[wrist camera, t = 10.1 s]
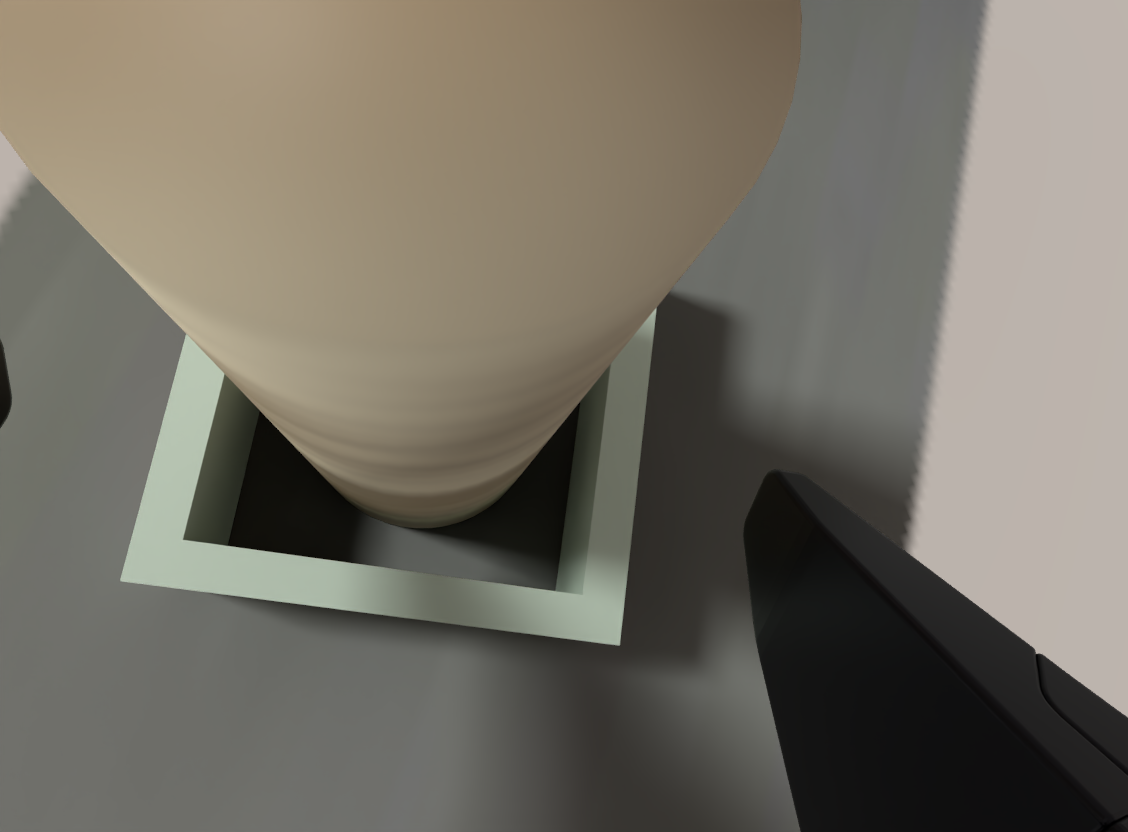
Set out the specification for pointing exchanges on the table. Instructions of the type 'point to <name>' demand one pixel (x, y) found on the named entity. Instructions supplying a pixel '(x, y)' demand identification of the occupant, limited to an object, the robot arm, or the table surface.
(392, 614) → the sage collar
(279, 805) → the table surface
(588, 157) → the maple dowel
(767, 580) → the robot arm
